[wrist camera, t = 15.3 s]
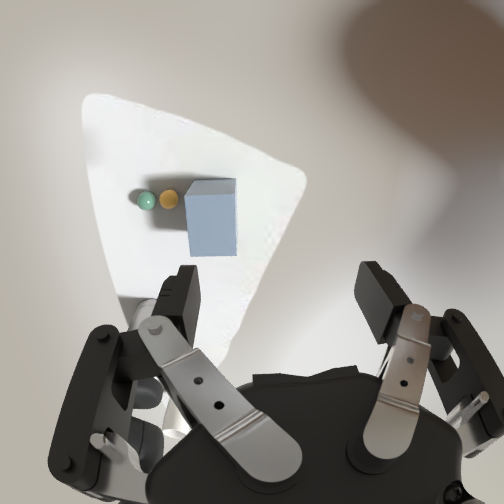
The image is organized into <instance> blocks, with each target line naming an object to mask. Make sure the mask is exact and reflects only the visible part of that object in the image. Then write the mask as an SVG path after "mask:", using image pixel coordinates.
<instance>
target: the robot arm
mask: <svg viewBox="0 0 504 504" xmlns="http://www.w3.org/2000/svg"><path fill="white" fill-rule="evenodd" d="M354 295H355V298H356V301H357V303H358V305H359V307H360V309H361V310H362V313H363V315H364V317H365V319H366V320H367V323H368V325H369V327H370V329H371V331H372V333H373V335H374V337H375V339H376V341H377V343H378V344H384V343H387V344H388V347H387V349H386V351H385V354H384V357H383V360H382V362H381V365H380V368H379V370H378V373H377V375H376V376H373V375H370V374H366V373H360V372H359V371H358V369H357V366H356V365H354V366H348V367H340V368H333V369H330V370H327V371H324V372H322V373H319V374H315V375H313V376H309V377H304V376H295V375H288V374H281V373H278V374H277V373H276V374H253V382H251V383H247V384H244V385H242V386H239V387H237V388H235V387H234V386H233V385H232V384H231V383H230V382H229V381H228V380H227V379H226V378H225V377H224V376H223V375H222V374H221V373H220V372H219V371H218V369H217V368H216V367H215V366H214V365H213V364H212V362H211V361H210V360H209V359H208V358H207V357H206V356H205V355H204V353H203V352H202V351H201V350H200V349H199V348H195V349H193V344H194V338H195V332H196V326H197V320H198V314H199V309H200V302H201V294H200V286H199V278H198V270H197V266H196V265H181V266H180V268H179V271H178V274H177V276H169V277H168V278H167V279H166V280H165V281H164V282H163V285H162V287H161V291H160V293H159V297H158V298H157V300H156V299H148V300H144V301H143V302H141V303H140V304H139V305H138V307H137V309H136V312H135V314H134V316H133V319H132V321H131V323H130V326H129V328H128V331H127V332H122V333H119V331H118V329H117V328H116V327H115V326H113V325H101V326H99V327H97V328H95V329H94V330H93V331H92V332H91V333H90V334H89V337H88V339H87V341H86V344H85V346H84V348H83V351H82V353H81V356H80V358H79V361H78V363H77V366H76V368H75V371H74V374H73V376H72V379H71V382H70V384H69V387H68V390H67V393H66V396H65V399H64V402H63V405H62V408H61V412H60V415H59V418H58V422H57V425H56V428H55V432H54V435H53V440H52V443H51V447H50V451H49V456H48V467H49V470H50V472H51V474H52V475H53V476H54V477H55V478H56V479H57V480H59V481H60V482H62V483H64V484H66V485H68V486H70V487H71V488H72V489H74V490H76V491H78V492H80V493H83V494H85V495H87V496H89V497H92V498H97V499H99V500H101V501H105V502H112V501H115V500H119V501H120V502H119V503H118V504H485V503H484V502H482V501H480V500H478V499H476V498H474V497H473V496H471V495H470V494H469V493H468V492H467V491H466V490H465V489H464V487H463V484H462V481H461V460H462V457H466V458H473V457H475V456H476V455H477V454H479V453H480V452H482V451H483V450H484V449H486V448H487V447H488V446H490V445H491V444H493V443H494V442H495V441H497V440H498V439H499V438H500V437H502V436H503V435H504V377H503V375H502V373H501V371H500V370H499V368H498V366H497V364H496V363H495V361H494V359H493V357H492V356H491V354H490V353H489V351H488V349H487V348H486V346H485V344H484V343H483V341H482V339H481V338H480V336H479V335H478V333H477V332H476V331H475V329H474V327H473V326H472V325H471V323H470V321H469V320H468V319H467V317H466V316H465V315H464V314H463V313H462V312H461V311H459V310H456V309H448V310H446V311H445V313H444V315H443V317H436V316H431V315H430V313H429V311H428V310H427V309H426V308H424V307H423V306H421V305H418V304H413V303H412V302H411V301H410V300H409V298H408V297H407V295H406V294H405V292H404V291H403V289H402V288H401V287H400V285H399V284H398V283H397V281H396V280H395V279H394V277H393V276H392V275H391V274H389V273H388V272H387V271H385V270H382V268H381V267H380V265H379V264H378V263H377V262H376V261H363V262H361V264H360V266H359V270H358V275H357V279H356V283H355V289H354ZM453 349H455V351H456V353H457V355H458V357H459V359H460V366H459V368H457V366H456V365H455V363H454V361H453V359H452V357H451V355H450V354H451V352H452V350H453ZM427 368H428V370H429V372H430V375H431V377H432V379H433V381H434V384H435V386H436V389H437V391H438V393H439V396H440V398H441V400H442V403H443V406H444V408H445V411H446V413H447V422H446V421H444V420H442V419H441V418H439V417H438V416H436V415H435V414H433V413H431V412H430V411H428V410H427V409H425V408H424V407H422V406H421V405H419V402H420V398H421V394H422V390H423V386H424V382H425V377H426V372H427ZM163 389H165V390H166V392H167V393H168V395H169V396H170V398H171V399H172V401H173V402H174V404H175V405H176V407H177V408H178V410H179V412H180V413H181V415H182V416H183V418H184V419H185V421H186V422H187V424H188V425H189V426H190V428H191V429H192V430H191V431H190V432H189V433H188V434H187V435H186V436H185V437H184V438H183V439H182V440H181V441H180V442H179V443H178V444H177V445H175V446H174V447H173V448H172V449H171V450H170V451H169V452H168V453H167V454H166V455H165V456H164V457H163V449H164V437H163V432H162V430H161V429H160V428H159V427H158V426H156V425H153V424H151V423H149V422H146V421H143V420H141V419H138V418H135V417H132V410H133V409H151V408H154V407H156V406H158V405H159V403H160V402H161V399H162V395H163Z"/></svg>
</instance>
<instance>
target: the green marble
mask: <svg viewBox="0 0 504 504" xmlns="http://www.w3.org/2000/svg"><path fill="white" fill-rule="evenodd" d="M137 204H138V206H139V208H140V209H142V210H150V209H152V208H153V206H154V205H155V196H154V195H153V194H152V193H151V192H148V191H145V192H142V193H141V194H140V195H139V196H138V198H137Z"/></svg>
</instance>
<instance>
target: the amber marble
mask: <svg viewBox="0 0 504 504" xmlns="http://www.w3.org/2000/svg"><path fill="white" fill-rule="evenodd" d="M178 200H179V198H178V195H177V193H176V192H175V191H173V190H165V191H164V192H162V194H161V195H160V198H159V201H160V204H161V206H162V207H163V208H165V209H172V208H174V207H175V206H176V205H177V204H178Z"/></svg>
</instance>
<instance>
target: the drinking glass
mask: <svg viewBox="0 0 504 504" xmlns="http://www.w3.org/2000/svg"><path fill="white" fill-rule="evenodd" d="M189 427H190V426H189V425H188V424H187V422H186V421H185V419H184V418H183V416H182V415H181V413H180V412H179V410H178V408H177V407H176V405H175V404H174V402H173V401H172V399H171V398H169V402H168V405H167V409H166V413H165V416H164V421H163V428H162V432H163V434H165V435H166V436H169V437H172V438H177V439H183V438H184V437H185V436H186V435H187V434H188V433H189Z"/></svg>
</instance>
